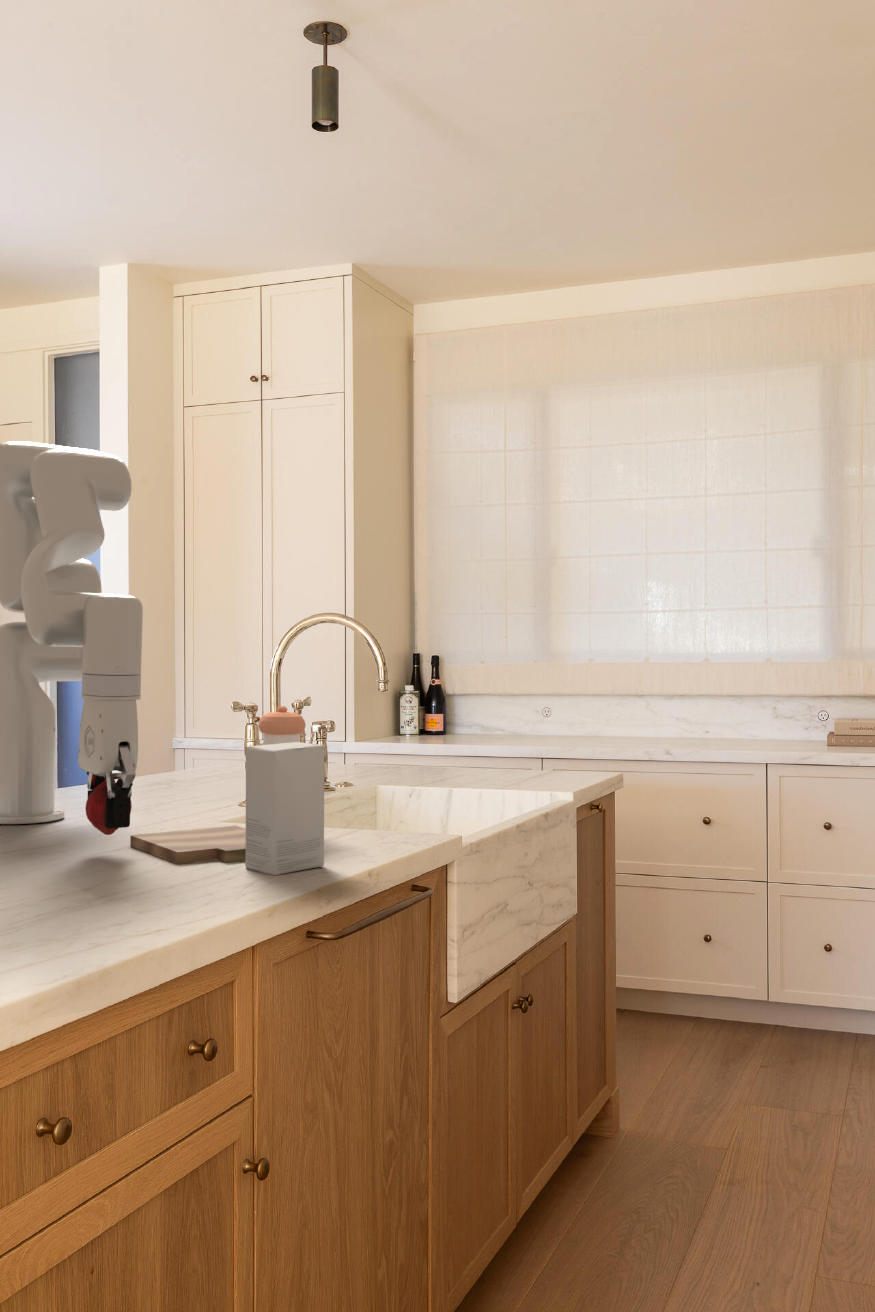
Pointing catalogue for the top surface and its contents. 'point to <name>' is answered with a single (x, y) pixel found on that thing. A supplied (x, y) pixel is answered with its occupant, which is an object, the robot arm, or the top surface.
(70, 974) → the top surface
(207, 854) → the board
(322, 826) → the skincare box
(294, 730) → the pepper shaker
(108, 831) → the onion
